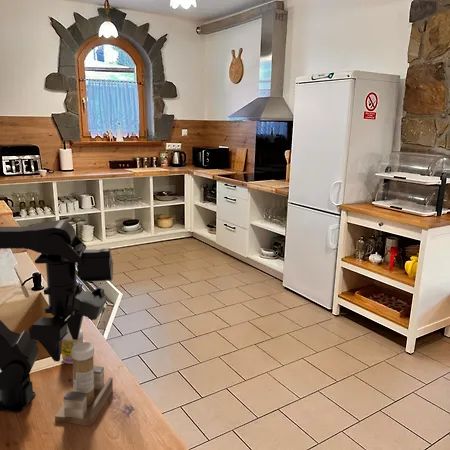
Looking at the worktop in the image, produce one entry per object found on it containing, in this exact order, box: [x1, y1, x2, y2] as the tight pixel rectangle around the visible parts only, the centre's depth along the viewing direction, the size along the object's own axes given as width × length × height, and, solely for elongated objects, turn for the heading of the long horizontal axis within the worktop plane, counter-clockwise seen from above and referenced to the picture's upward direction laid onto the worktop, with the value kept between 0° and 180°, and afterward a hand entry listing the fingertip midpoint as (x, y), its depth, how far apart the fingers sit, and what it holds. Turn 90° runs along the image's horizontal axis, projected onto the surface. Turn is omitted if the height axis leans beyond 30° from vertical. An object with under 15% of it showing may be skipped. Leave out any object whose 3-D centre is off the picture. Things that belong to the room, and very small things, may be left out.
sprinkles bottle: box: [72, 341, 95, 405], centre depth 92 cm, size 5×5×13 cm
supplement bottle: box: [61, 326, 84, 365], centre depth 109 cm, size 5×5×10 cm
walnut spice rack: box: [54, 365, 114, 427], centre depth 94 cm, size 8×12×6 cm, turn 174°
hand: (66, 349), depth 92 cm, fingers open, 9 cm apart
